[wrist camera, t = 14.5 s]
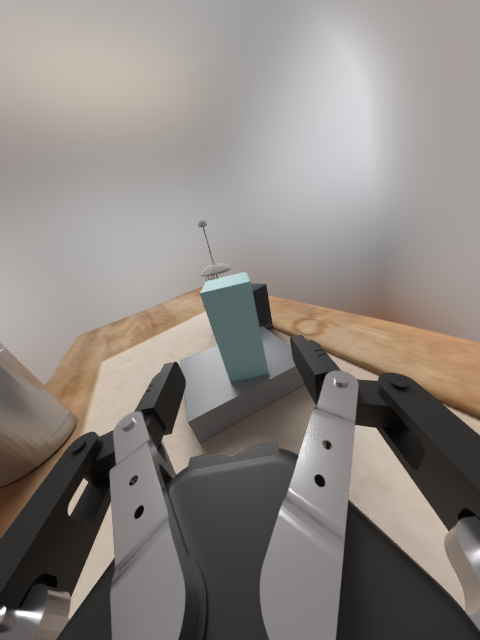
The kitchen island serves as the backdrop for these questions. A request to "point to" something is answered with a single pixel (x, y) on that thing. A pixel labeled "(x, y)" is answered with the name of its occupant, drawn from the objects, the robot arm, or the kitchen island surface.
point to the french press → (213, 268)
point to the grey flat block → (234, 387)
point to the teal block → (235, 325)
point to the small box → (262, 305)
